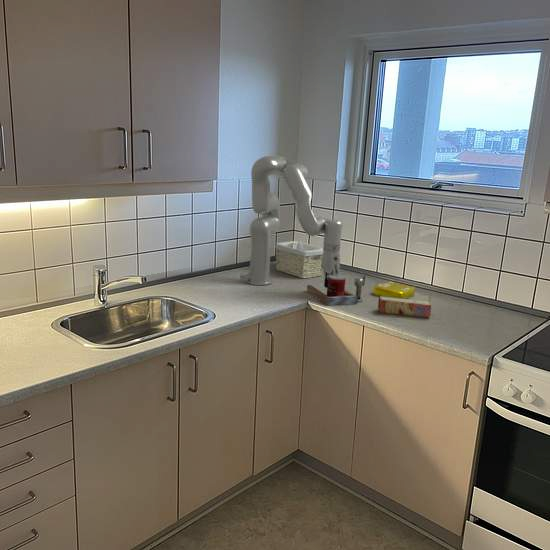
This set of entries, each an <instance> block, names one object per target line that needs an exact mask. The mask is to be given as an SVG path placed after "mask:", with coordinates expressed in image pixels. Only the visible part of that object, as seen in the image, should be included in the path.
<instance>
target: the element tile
mask: <svg viewBox="0 0 550 550" xmlns="http://www.w3.org/2000/svg"><path fill="white" fill-rule="evenodd" d="M415 291H416V287H415V286H412V285H411V286H410V285H409V284H408V285H407V284H403V283H399V282H394V281H391V280H390V281H388V280H387V281H385V282H382V283H379V284H376V285H374V287H373V295H374V296H376V295H377V296H376V297H379V298H380V297H389V298H397V299H408V298H409V299H411V298H414V297H415V293H416V292H415ZM410 297H411V298H410ZM409 299H408V300H409Z"/></svg>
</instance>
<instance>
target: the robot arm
mask: <svg viewBox="0 0 550 550" xmlns="http://www.w3.org/2000/svg"><path fill="white" fill-rule="evenodd" d="M250 174H251V175H250V177H251V207H252V210H253V212H254V213H255V214H258V215H261V216H259V217H256V218H254V219H253V220H252V222H250V226H249V235H250V257H249V259H250V260H249V261H250V263H249V271H247V273H245V274H244V273H243V274H239V278H240V279H243V280H245V281H246V283H247V284H249V285H254V286H268V285H271V284H272V283H273V279H272V278H270V272H271V271H270V270H271V268H270V266H271V254H272V252H271V250H272V245H271V243H272V242H271V237H270V236H272V235H275V234H276V233H277V232H278V231H279V230H280V227H281V206H280V205H281V203H280V200H279V198H278V196H277V195H276V194H275V193H273V192H271V182H270V179H269V176H272V175H273V176H274V175H278V176H279V175H280V176H282V177H283V180H284V182H285V184H286V185H287V187H288V190H289V191H290V193H291V195H292V198H293V200H294V202H295V203H294V204H295V213H296V217H297V219H298V222H299V224H300V226H301V228H302V230H303V231H304V233H306V235H308V236H310V237H314V236H317V235H322V234H323V245H322V248H323V255H322V263H321V268H322V270H323V273H324V276H323V277H324V283H323V287H325V288H326V289H327V285H328V276H329V275H330V274H332V275H333V276H336V274H340V268H341V267H340V266H341V253H340V250H341V242H342V241H341V240H342V231H343V230H342V229H343V223H342V221H341V220H338V219H330V218H326V217H322V216H317V217H315V215H314V213H313V211H312V207H311V200H312V198H313V192H312V190H311V188H310V186H309V184H308V182H307V179H308V176H309V170H308V168H307V167H306V166H305V165H303V164H302V163H300V162H298V161H297V162H296V161H294V160H293V159H289V158H287V157H285V156H281V155H266V156H263V157H260V158H259V159H257V160H256V161H255V162H254V163H253V165H252V168H251V173H250Z"/></svg>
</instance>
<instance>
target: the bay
mask: <svg viewBox="0 0 550 550" xmlns="http://www.w3.org/2000/svg"><path fill="white" fill-rule="evenodd" d="M307 291H308V293H309V294H310V293H311V294H310V295H312V296H313V295H314V297H315V298H316V297H317V298H316V299H318V300H319V299H320V300H319V301H320V302H322V303H323V302H324V304H325V305H326V306H328V307H331V306H332V307H333V305H335V306H347V305H348V304H349V305H358V302H357V301H358V296H357V295H356V294H354V293H351V292H349V291H348V290H347V289H345V291H344V296H337V297H328V296H327V294H325V293H324V292H322V291H321V290H319V289H318V288H316V287H315V286H313V285H312V284H307V287H306V292H307ZM346 304H347V305H346Z"/></svg>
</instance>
